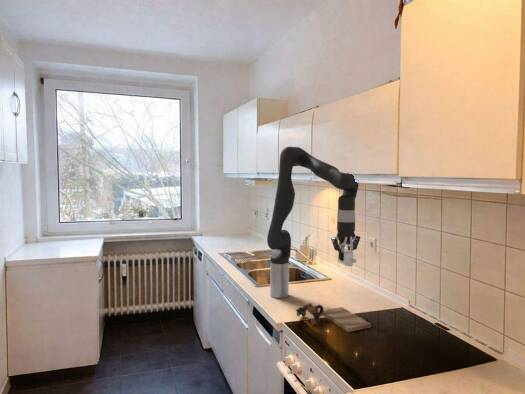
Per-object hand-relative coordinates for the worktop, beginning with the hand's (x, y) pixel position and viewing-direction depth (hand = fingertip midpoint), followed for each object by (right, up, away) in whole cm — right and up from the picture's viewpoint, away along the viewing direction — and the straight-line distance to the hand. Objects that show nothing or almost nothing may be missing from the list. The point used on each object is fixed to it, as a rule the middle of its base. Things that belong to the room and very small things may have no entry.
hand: (345, 259), depth 162 cm
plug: (0, -2, -1) cm, 2 cm away
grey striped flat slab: (-1, -25, -2) cm, 25 cm away
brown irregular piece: (-15, -26, -1) cm, 30 cm away
